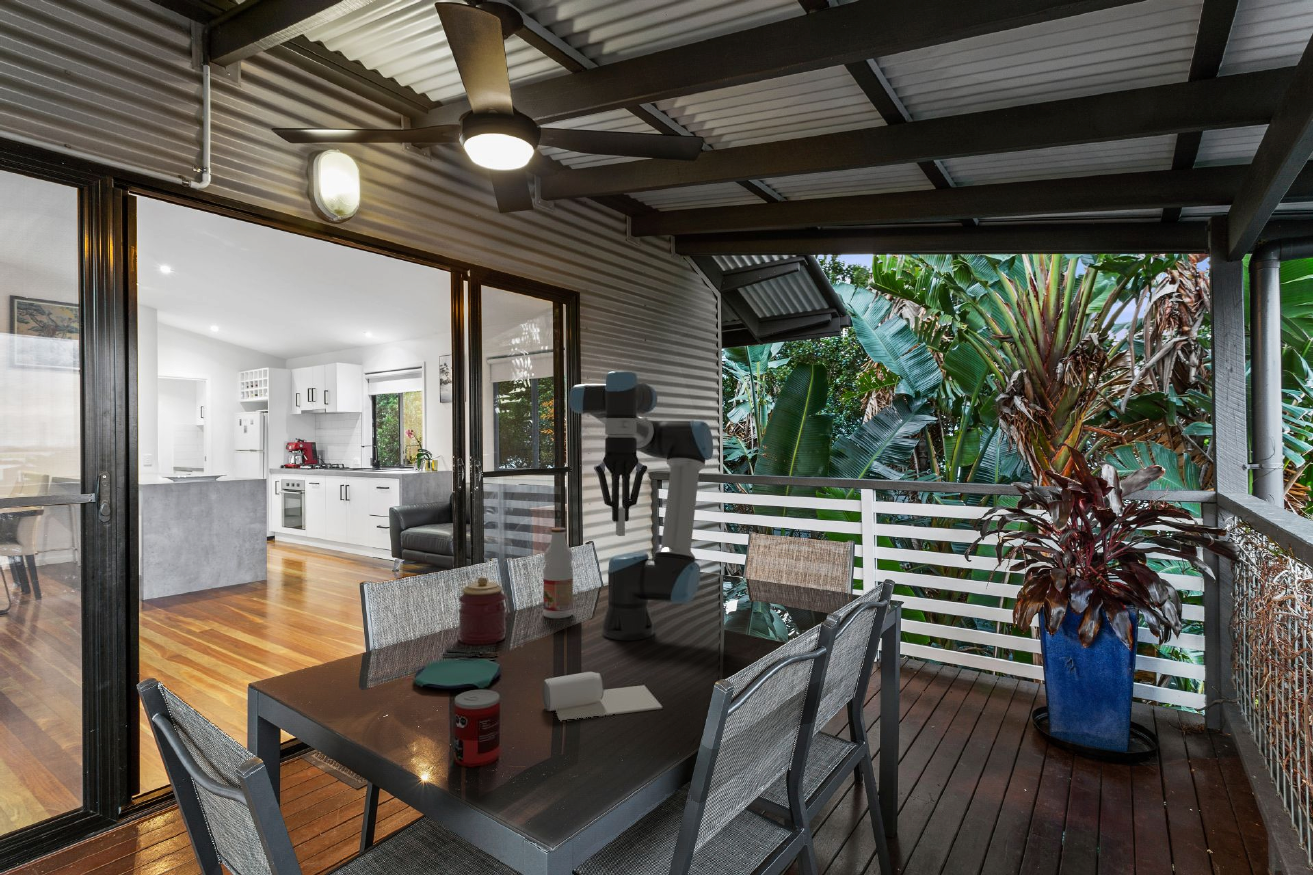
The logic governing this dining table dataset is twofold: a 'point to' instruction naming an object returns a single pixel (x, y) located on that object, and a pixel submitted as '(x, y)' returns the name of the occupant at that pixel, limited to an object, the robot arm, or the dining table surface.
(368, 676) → the dining table surface
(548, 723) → the dining table surface
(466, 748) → the canned food
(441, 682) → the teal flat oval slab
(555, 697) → the can
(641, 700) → the mat
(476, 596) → the canister
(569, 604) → the fruit juice
